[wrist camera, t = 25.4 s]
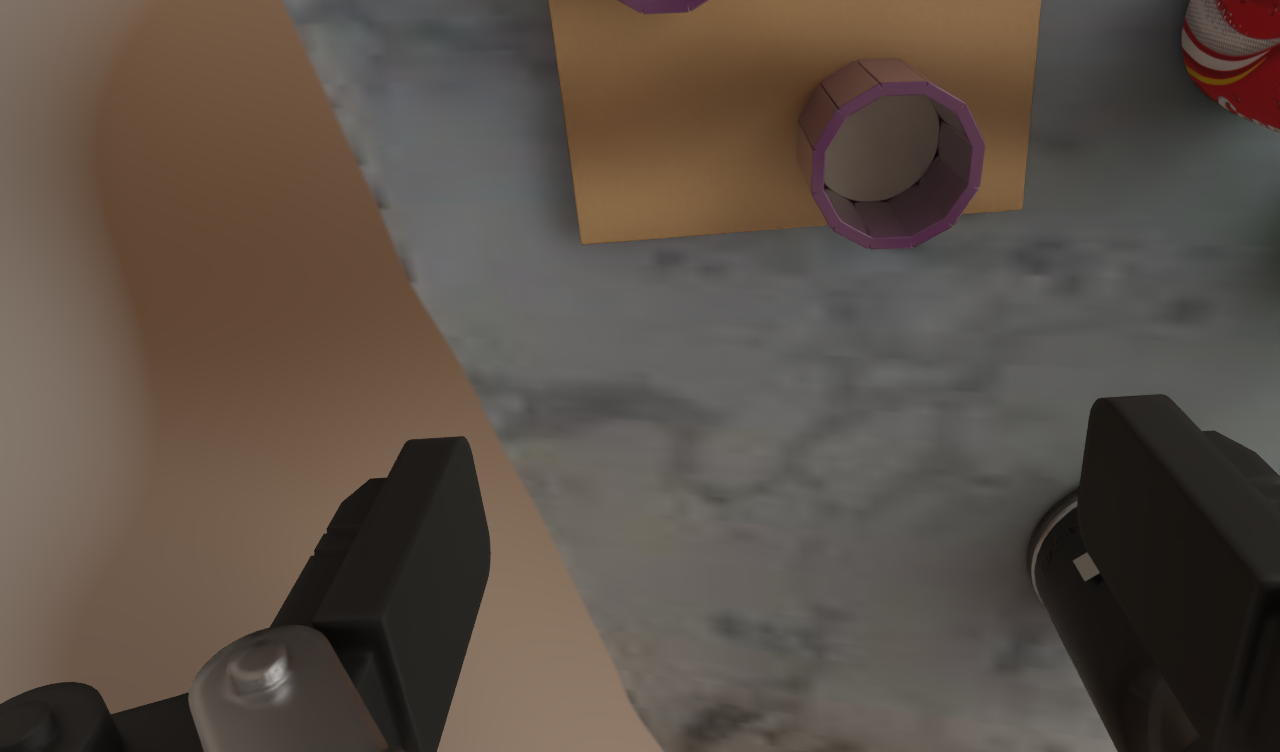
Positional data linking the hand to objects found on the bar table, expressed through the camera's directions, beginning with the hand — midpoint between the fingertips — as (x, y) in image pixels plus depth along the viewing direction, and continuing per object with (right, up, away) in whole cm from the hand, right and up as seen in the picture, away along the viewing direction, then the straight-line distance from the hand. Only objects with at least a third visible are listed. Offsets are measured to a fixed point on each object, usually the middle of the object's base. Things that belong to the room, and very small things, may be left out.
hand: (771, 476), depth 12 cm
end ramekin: (+7, +11, +24) cm, 27 cm away
